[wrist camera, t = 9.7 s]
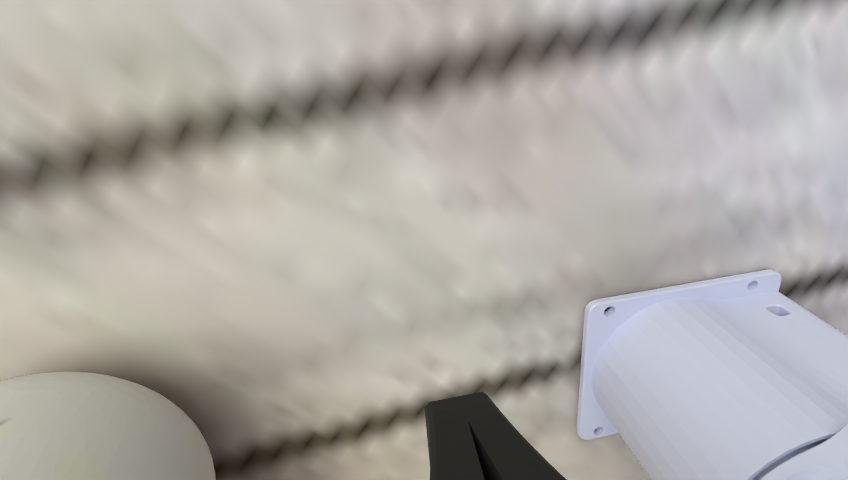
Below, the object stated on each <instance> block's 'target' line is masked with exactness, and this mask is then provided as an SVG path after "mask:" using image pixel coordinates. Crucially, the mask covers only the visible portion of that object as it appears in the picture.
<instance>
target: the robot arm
mask: <svg viewBox="0 0 848 480" xmlns="http://www.w3.org/2000/svg"><path fill="white" fill-rule="evenodd" d="M780 283H781V275H780V274H779V273H778V272H776V271H774V270H773V269H768V270H762V271H756V272H750V273H745V274H739V275H733V276H728V277H722V278H716V279H710V280H705V281H699V282H693V283H687V284H682V285H676V286H670V287H665V288H659V289H653V290H647V291H642V292H636V293H630V294H625V295H619V296H613V297H607V298H602V299H596V300H593V301H591V302H590V303H588V305H587V306H586V308H585V312H584V327H583V342H582V356H581V371H580V386H579V401H578V415H577V433H578V435H579V437H580V438H581V439H583V440H590V439H594V438H599V437H604V436H608V435H613V434H618V433H619V434H620V436H621V437H622V439H623V440H624V441H625V443H626V444H627V446H628V447H629V449H630V450H631V451H632V453H633V454H634V456H635V457H636V459H637V460H638V461H639V463H640V464H641V466H642V467H643V469H644V470H645V471H646V473H647V474H648V476H649V477H650V479H651V480H848V336H846V335H845V334H843V333H841V332H840V331H838V330H837V329H835V328H834V327H832V326H831V325H829V324H828V323H826V322H824V321H823V320H821V319H820V318H818V317H817V316H815V315H814V314H812V313H811V312H809V311H808V310H806V309H804V308H803V307H801V306H800V305H798V304H797V303H795V302H794V301H792V300H791V299H789V298H787V297H786V296H784V295H783V294H781V293H780V292H778V291H779V287H780ZM610 306H611V307H610ZM607 307H610V309H609V310H608V311H605V309H606V308H607ZM604 311H605V312H604ZM425 416H426V426H427V437H428V448H429V459H430V480H566V479H565V478H564V477H563V476H562V475H561V474H560V473H559V472H558V471H557V470H556V469H555V468H554V467H552V466H551V465H550V464H549V463H548V462H547V461H546V460H545V459H544V458H543V457H542V456H541V455H540V454H539V453H538V452H537V451H536V450H535V449H534V448H533V447H532V446H531V445H530V444H529V443H528V441H527V440H526V439H525V438H524V437H523V436H522V435H521V434H520V433H519V432H518V431H517V430H516V429H515V427H514V426H513V425H512V424H511V423H510V422H509V421H508V420H507V418H506V417H505V416H504V415H503V414H502V413H501V411H500V410H499V409H498V408H497V407H496V405H495V404H494V403H493V402H492V401H491V399H490V398H489V397H488V395H486V394H485V393H483V392H479V393H474V394H469V395H463V396H458V397H453V398H448V399H443V400H438V401H433V402H429V403H428V404H427V405H426V406H425Z"/></svg>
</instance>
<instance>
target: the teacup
mask: <svg viewBox="0 0 848 480" xmlns="http://www.w3.org/2000/svg"><path fill="white" fill-rule="evenodd" d="M0 480H216V479H215V470H214V465H213V459H212V456H211V453H210V450H209V447H208V445H207V443H206V441H205V439H204V437H203V435H202V434H201V432H200V431H199V429H198V427H197V426H196V424H195V423H194V422H193V421H192V420H191V419H190V418H189V417H188V416H187V415H186V414H185V412H184V411H183V410H182V409H180V408H179V407H178V406H176V405H175V404H174V403H172V402H171V401H170V400H168V399H167V398H165V397H164V396H162V395H160V394H159V393H157V392H155V391H153V390H151V389H149V388H147V387H144V386H142V385H140V384H137V383H134V382H131V381H128V380H125V379H121V378H117V377H113V376H110V375H104V374H97V373H89V372H68V371H61V372H47V373H36V374H31V375H25V376H20V377H15V378H11V379H7V380H4V381H0Z"/></svg>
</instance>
